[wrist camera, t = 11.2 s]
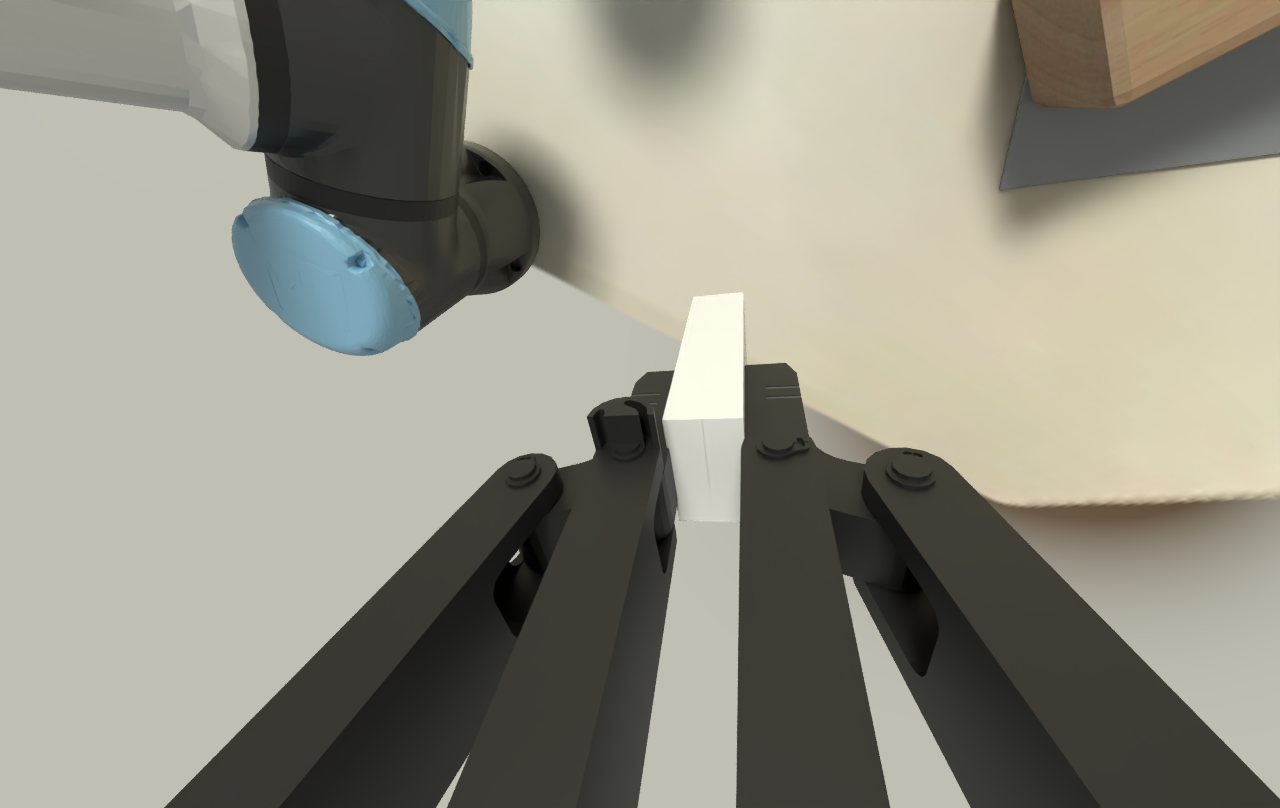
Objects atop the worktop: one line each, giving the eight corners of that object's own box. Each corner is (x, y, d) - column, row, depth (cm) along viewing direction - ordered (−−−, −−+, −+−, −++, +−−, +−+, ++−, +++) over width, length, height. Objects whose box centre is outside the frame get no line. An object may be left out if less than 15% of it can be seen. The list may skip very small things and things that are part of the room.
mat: (999, 189, 39) (1000, 189, 39) (1058, -68, 31) (1061, -69, 30) (1308, 148, 34) (1312, 148, 34) (1481, -171, 26) (1487, -174, 25)
